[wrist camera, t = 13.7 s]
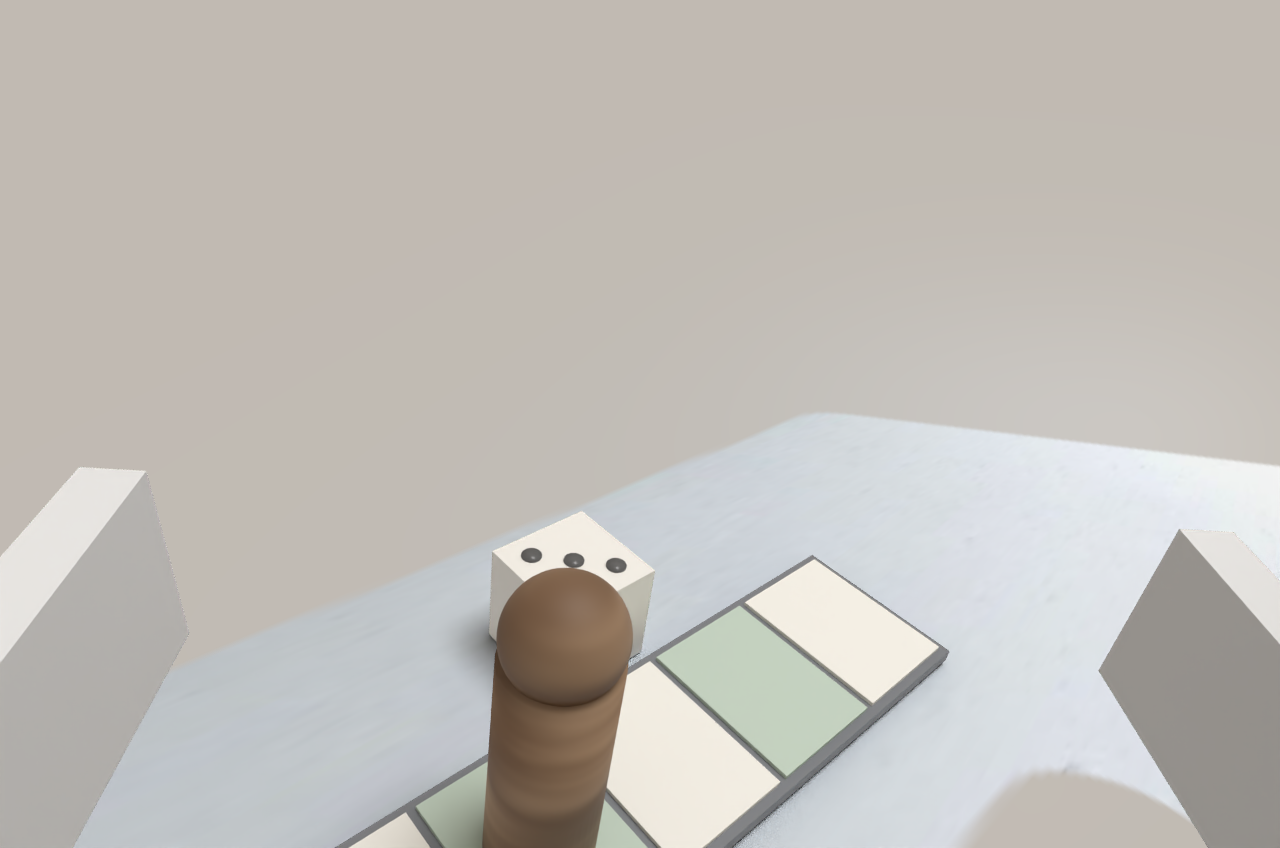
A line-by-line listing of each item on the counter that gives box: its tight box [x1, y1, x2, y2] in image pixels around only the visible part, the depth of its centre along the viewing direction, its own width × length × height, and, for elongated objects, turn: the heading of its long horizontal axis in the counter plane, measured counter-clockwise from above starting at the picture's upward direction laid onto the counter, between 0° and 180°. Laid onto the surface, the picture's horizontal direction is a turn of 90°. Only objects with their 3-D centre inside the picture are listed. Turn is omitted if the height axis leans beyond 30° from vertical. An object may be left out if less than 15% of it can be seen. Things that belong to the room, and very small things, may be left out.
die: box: [489, 511, 655, 659], centre depth 38 cm, size 5×5×5 cm
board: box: [335, 555, 949, 848], centre depth 34 cm, size 8×30×1 cm, turn 132°
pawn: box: [482, 568, 633, 848], centre depth 27 cm, size 4×4×12 cm
